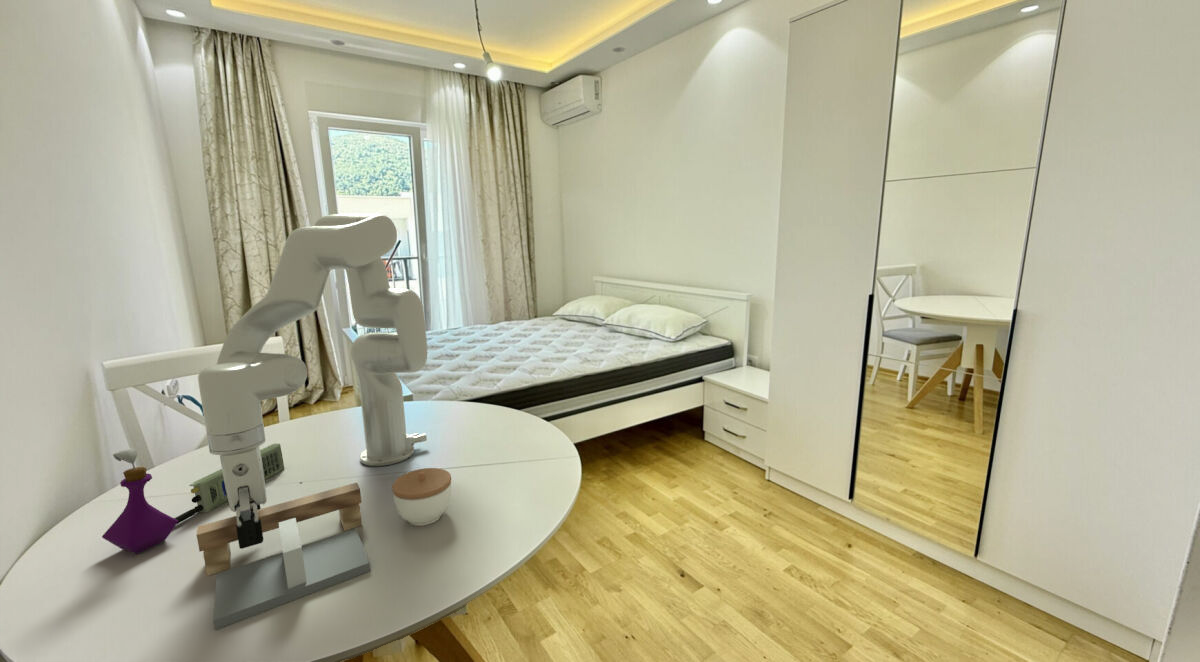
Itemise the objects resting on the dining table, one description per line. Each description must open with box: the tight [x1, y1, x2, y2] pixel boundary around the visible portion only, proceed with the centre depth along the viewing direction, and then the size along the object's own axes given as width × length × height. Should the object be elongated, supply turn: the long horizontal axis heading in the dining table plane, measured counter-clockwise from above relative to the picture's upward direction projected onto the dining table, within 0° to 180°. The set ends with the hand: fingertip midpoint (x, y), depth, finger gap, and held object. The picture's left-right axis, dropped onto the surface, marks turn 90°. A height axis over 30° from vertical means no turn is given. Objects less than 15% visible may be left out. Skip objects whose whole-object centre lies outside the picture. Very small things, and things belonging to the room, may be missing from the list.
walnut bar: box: [196, 482, 363, 552], centre depth 85 cm, size 24×3×3 cm, turn 127°
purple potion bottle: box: [101, 448, 179, 555], centre depth 84 cm, size 8×8×18 cm
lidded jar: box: [391, 467, 452, 527], centre depth 93 cm, size 11×11×9 cm
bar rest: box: [202, 504, 363, 576], centre depth 86 cm, size 23×5×4 cm, turn 127°
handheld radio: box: [173, 443, 285, 525], centre depth 102 cm, size 7×3×25 cm
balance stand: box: [213, 518, 371, 631], centre depth 76 cm, size 20×12×8 cm, turn 127°
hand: (251, 531), depth 82 cm, fingers open, 9 cm apart
